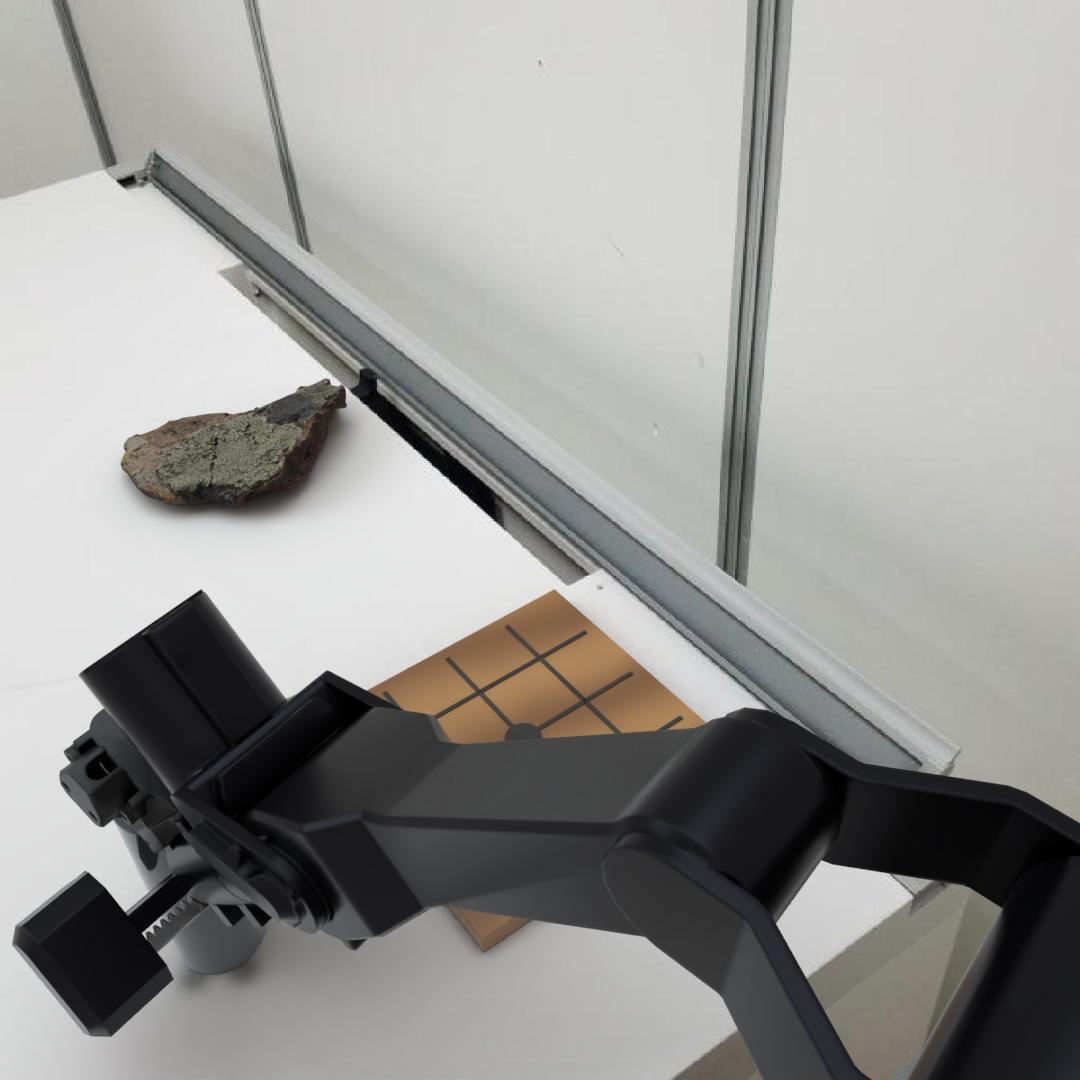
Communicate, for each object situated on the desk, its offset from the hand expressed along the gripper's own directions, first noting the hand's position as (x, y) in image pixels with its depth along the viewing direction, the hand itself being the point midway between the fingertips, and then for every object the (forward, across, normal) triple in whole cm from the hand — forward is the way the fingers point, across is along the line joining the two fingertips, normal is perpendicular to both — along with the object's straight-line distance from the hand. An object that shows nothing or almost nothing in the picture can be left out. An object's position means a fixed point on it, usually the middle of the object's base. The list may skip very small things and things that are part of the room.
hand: (177, 851), depth 62 cm
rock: (+29, -30, -19) cm, 46 cm away
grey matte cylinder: (+4, 0, +6) cm, 7 cm away
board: (0, -20, +10) cm, 23 cm away
